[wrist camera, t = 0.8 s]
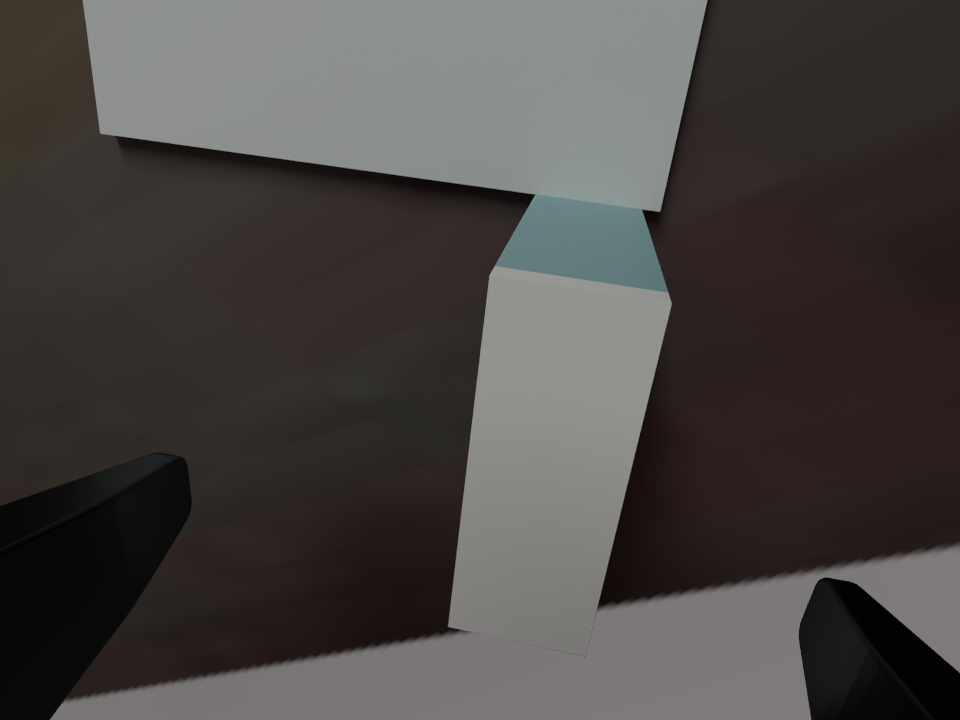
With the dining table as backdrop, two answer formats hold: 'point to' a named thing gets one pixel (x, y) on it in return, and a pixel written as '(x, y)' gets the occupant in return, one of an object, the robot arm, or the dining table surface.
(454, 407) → the dining table surface
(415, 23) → the mat
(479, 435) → the slab
